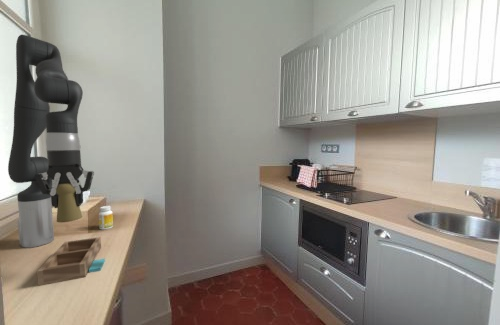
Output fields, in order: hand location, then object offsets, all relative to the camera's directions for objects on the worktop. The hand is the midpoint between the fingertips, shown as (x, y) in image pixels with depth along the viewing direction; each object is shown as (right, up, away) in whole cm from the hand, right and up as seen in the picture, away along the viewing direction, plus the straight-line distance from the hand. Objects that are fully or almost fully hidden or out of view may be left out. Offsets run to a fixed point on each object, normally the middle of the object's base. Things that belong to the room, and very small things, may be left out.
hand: (68, 206), depth 68 cm
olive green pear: (0, -4, 0) cm, 4 cm away
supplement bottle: (-12, -17, +36) cm, 42 cm away
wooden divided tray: (0, -19, +6) cm, 20 cm away
